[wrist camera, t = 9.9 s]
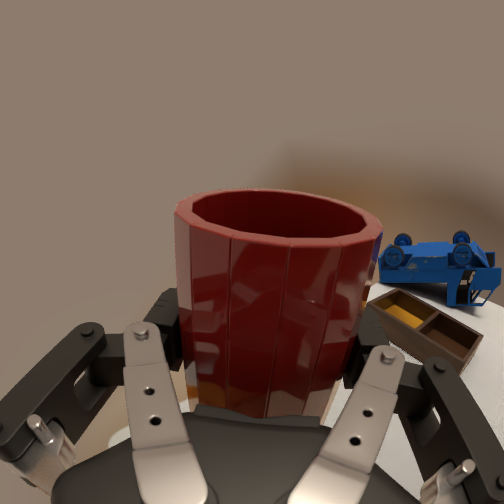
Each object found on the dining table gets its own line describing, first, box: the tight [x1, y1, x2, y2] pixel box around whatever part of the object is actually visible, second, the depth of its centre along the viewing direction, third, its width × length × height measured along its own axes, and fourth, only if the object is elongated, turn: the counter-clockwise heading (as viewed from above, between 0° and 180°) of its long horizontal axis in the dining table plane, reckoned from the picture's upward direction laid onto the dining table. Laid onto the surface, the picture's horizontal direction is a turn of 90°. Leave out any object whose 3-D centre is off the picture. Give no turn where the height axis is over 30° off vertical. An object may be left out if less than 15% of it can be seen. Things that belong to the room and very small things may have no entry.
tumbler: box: [174, 188, 383, 425], centre depth 11 cm, size 6×6×12 cm
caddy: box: [366, 287, 483, 376], centre depth 37 cm, size 9×18×4 cm, turn 32°
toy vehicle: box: [378, 231, 501, 306], centre depth 50 cm, size 25×12×12 cm, turn 52°
